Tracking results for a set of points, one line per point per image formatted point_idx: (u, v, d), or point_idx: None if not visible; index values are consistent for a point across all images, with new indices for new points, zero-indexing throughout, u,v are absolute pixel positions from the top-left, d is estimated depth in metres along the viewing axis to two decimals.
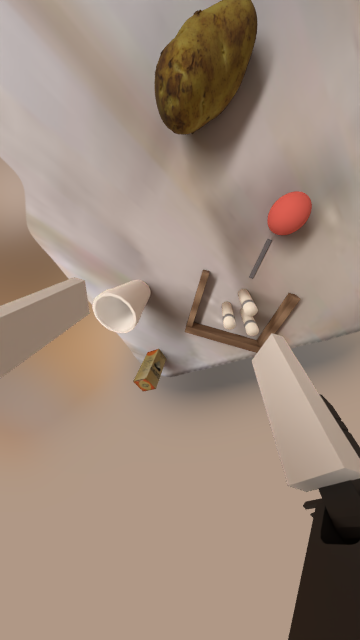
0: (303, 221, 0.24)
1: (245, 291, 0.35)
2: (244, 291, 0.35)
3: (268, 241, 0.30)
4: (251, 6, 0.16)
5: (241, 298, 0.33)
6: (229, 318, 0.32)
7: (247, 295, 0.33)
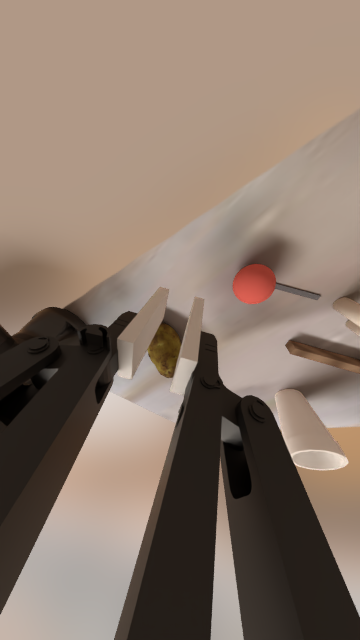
0: (267, 278, 0.21)
1: (340, 307, 0.24)
2: (340, 309, 0.24)
3: None
4: None
5: (353, 322, 0.23)
6: None
7: (351, 315, 0.22)
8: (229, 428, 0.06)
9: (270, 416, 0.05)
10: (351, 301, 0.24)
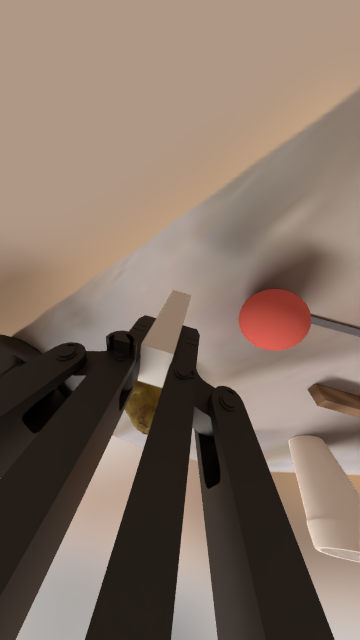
0: (300, 316, 0.12)
1: None
2: None
3: None
4: None
5: None
6: None
7: None
8: (202, 420, 0.06)
9: (240, 404, 0.05)
10: None
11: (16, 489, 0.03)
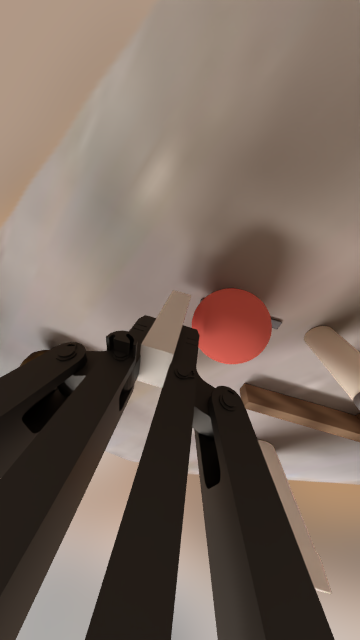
0: None
1: (315, 346, 0.13)
2: (315, 349, 0.13)
3: None
4: None
5: None
6: None
7: (333, 366, 0.12)
8: (202, 420, 0.06)
9: (240, 404, 0.05)
10: (333, 336, 0.13)
11: (16, 489, 0.03)
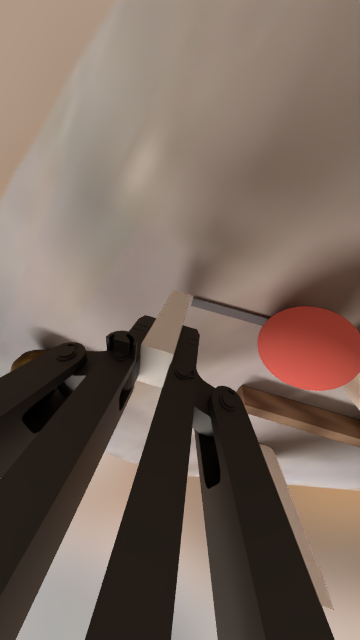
0: (284, 311, 0.11)
1: None
2: None
3: (195, 304, 0.14)
4: (11, 368, 0.19)
5: None
6: None
7: None
8: (202, 420, 0.06)
9: (240, 404, 0.05)
10: None
11: (16, 489, 0.03)
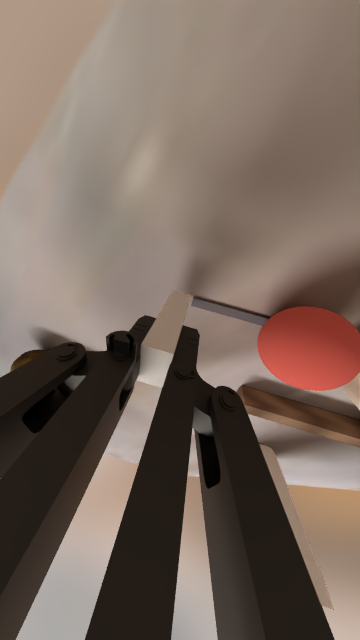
0: (284, 311, 0.11)
1: None
2: None
3: (195, 304, 0.14)
4: (11, 368, 0.19)
5: None
6: None
7: None
8: (202, 420, 0.06)
9: (240, 404, 0.05)
10: None
11: (16, 489, 0.03)
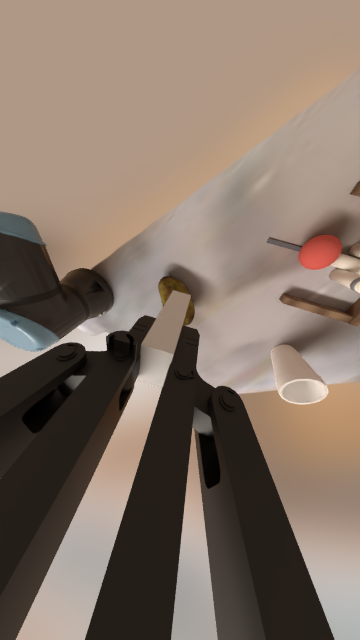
0: (312, 238, 0.28)
1: (346, 265, 0.29)
2: (346, 266, 0.29)
3: (269, 241, 0.32)
4: (161, 282, 0.37)
5: (351, 271, 0.30)
6: (359, 288, 0.26)
7: (358, 268, 0.29)
8: (202, 420, 0.06)
9: (240, 404, 0.05)
10: (350, 257, 0.29)
11: (16, 489, 0.03)
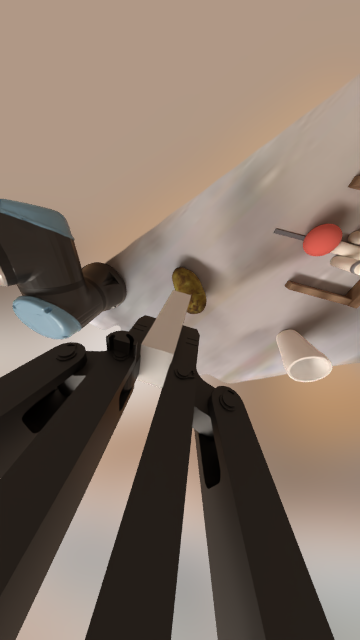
0: None
1: (346, 251, 0.33)
2: (345, 252, 0.33)
3: (276, 232, 0.35)
4: (175, 272, 0.40)
5: (350, 257, 0.34)
6: (358, 270, 0.29)
7: (356, 254, 0.32)
8: (202, 420, 0.06)
9: (240, 404, 0.05)
10: (348, 244, 0.32)
11: (16, 489, 0.03)
